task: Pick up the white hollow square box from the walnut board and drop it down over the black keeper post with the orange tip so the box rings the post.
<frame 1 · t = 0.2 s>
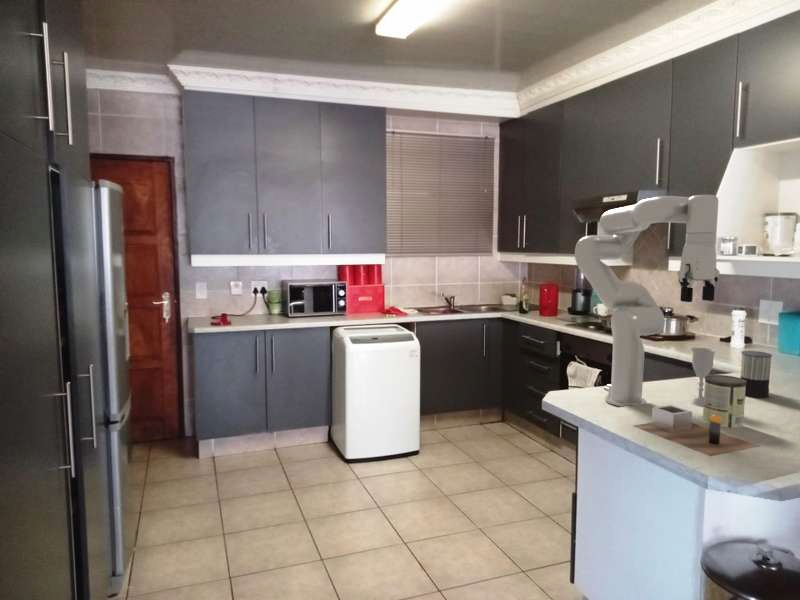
hand: (697, 301, 158), 36 cm above the worktop, tool pointing down, fingers open, 9 cm apart
white hollow square box: (670, 427, 155), point 1 cm above the worktop, touching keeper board
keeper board: (692, 440, 148), on the worktop
chalice: (699, 404, 183), on the worktop
milk frother: (740, 393, 199), on the worktop
keeper post: (713, 442, 143), resting on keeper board
coffee can: (721, 427, 160), on the worktop
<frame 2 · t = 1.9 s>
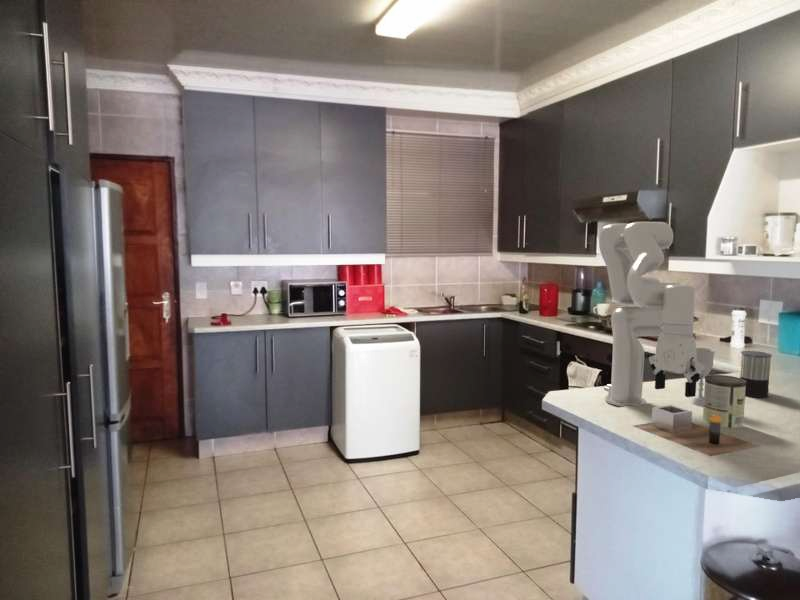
hand: (674, 392, 153), 12 cm above the worktop, tool pointing down, fingers open, 9 cm apart
nothing on the worktop moved.
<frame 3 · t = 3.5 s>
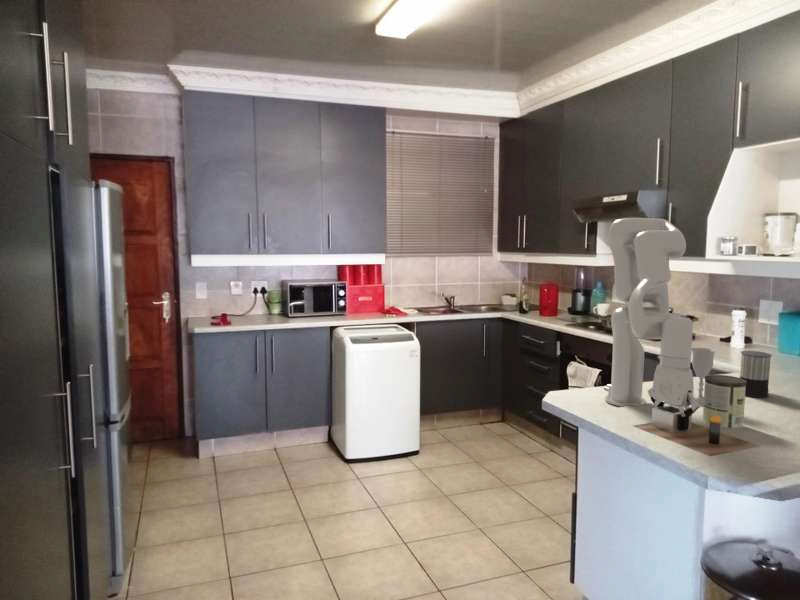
hand: (671, 425, 154), 2 cm above the worktop, tool pointing down, fingers closed on white hollow square box, 7 cm apart
white hollow square box: (670, 427, 155), point 1 cm above the worktop, touching gripper, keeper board
everything else where it was.
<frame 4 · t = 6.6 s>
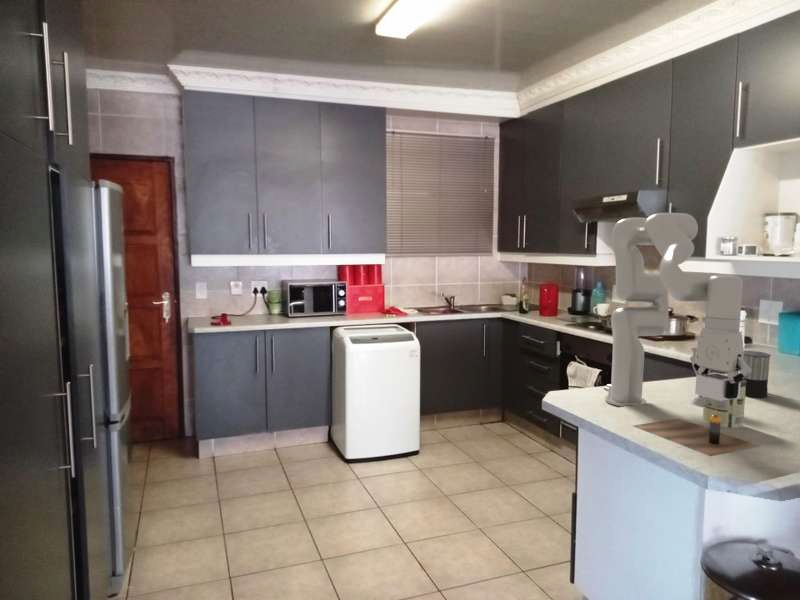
hand: (717, 393, 141), 14 cm above the worktop, tool pointing down, fingers closed on white hollow square box, 7 cm apart
white hollow square box: (717, 396, 141), point 14 cm above the worktop, touching gripper
everything else where it was.
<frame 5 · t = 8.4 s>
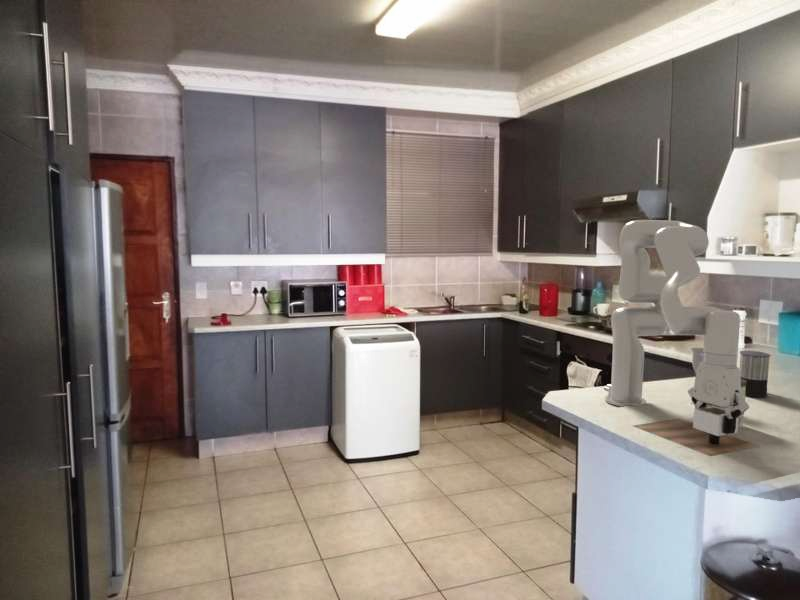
hand: (715, 428, 142), 5 cm above the worktop, tool pointing down, fingers closed on white hollow square box, 7 cm apart
white hollow square box: (714, 430, 142), point 5 cm above the worktop, touching gripper
everything else where it was.
when the fingers open (5 cm above the worktop, at t = 9.7 s): white hollow square box drops 2 cm, resting on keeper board.
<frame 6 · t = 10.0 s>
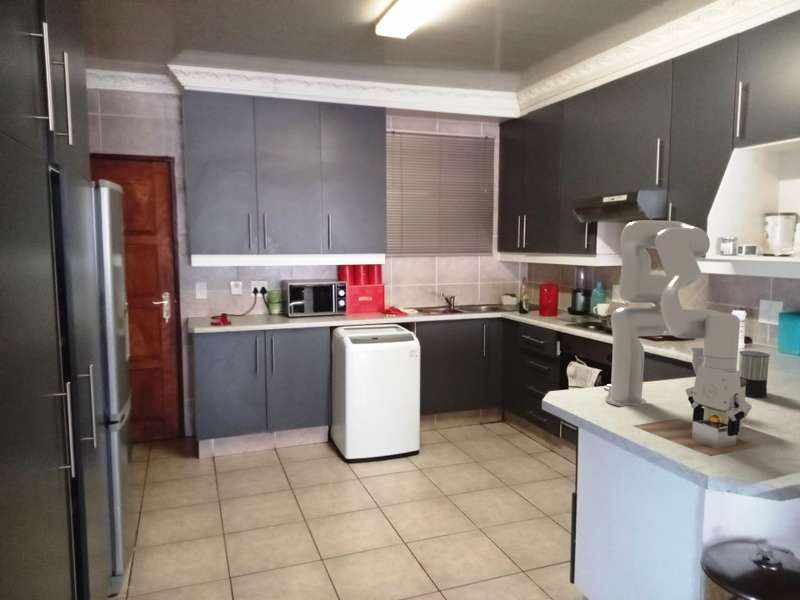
hand: (714, 429, 142), 5 cm above the worktop, tool pointing down, fingers open, 9 cm apart
white hollow square box: (713, 442, 143), point 1 cm above the worktop, touching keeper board
everything else where it was.
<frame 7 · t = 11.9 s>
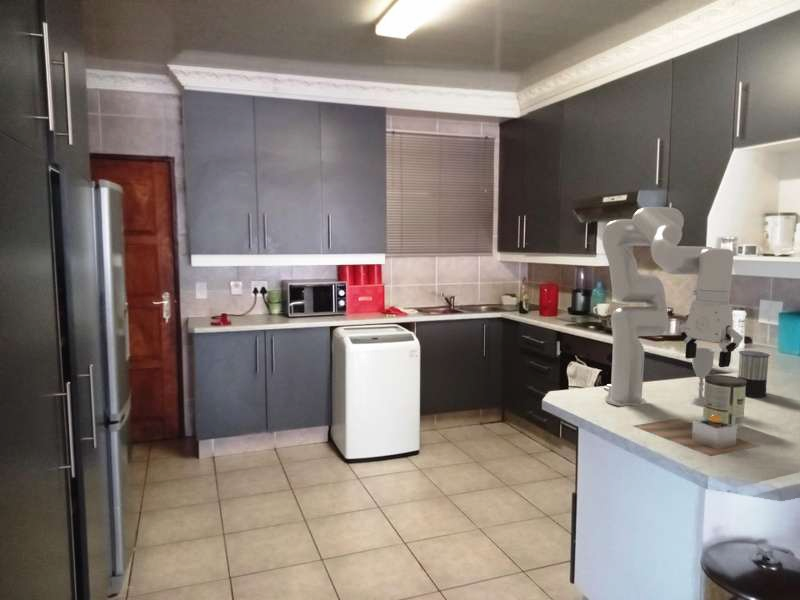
hand: (706, 362, 145), 21 cm above the worktop, tool pointing down, fingers open, 9 cm apart
nothing on the worktop moved.
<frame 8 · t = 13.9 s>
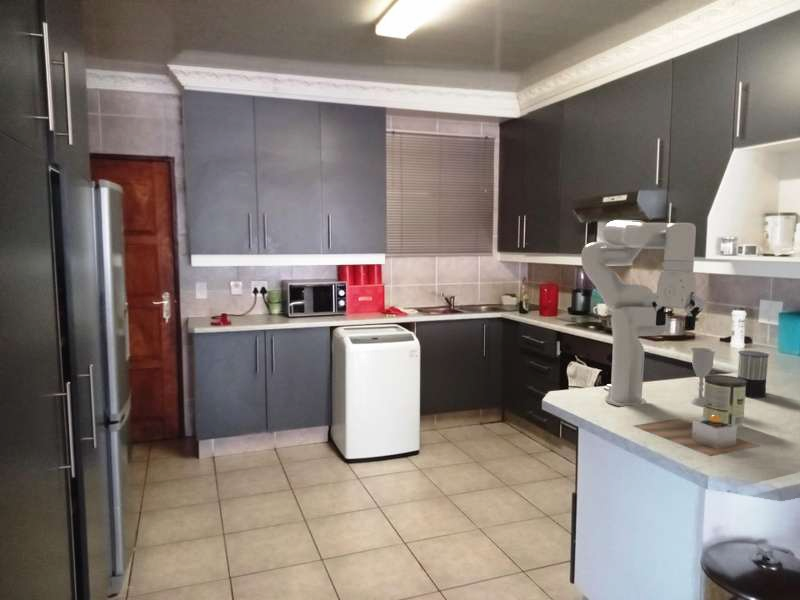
hand: (674, 327, 158), 28 cm above the worktop, tool pointing down, fingers open, 9 cm apart
nothing on the worktop moved.
at the end: white hollow square box 0.1 cm from the keeper post (horizontally); white hollow square box point 1.5 cm above the worktop; the gripper is holding nothing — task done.
